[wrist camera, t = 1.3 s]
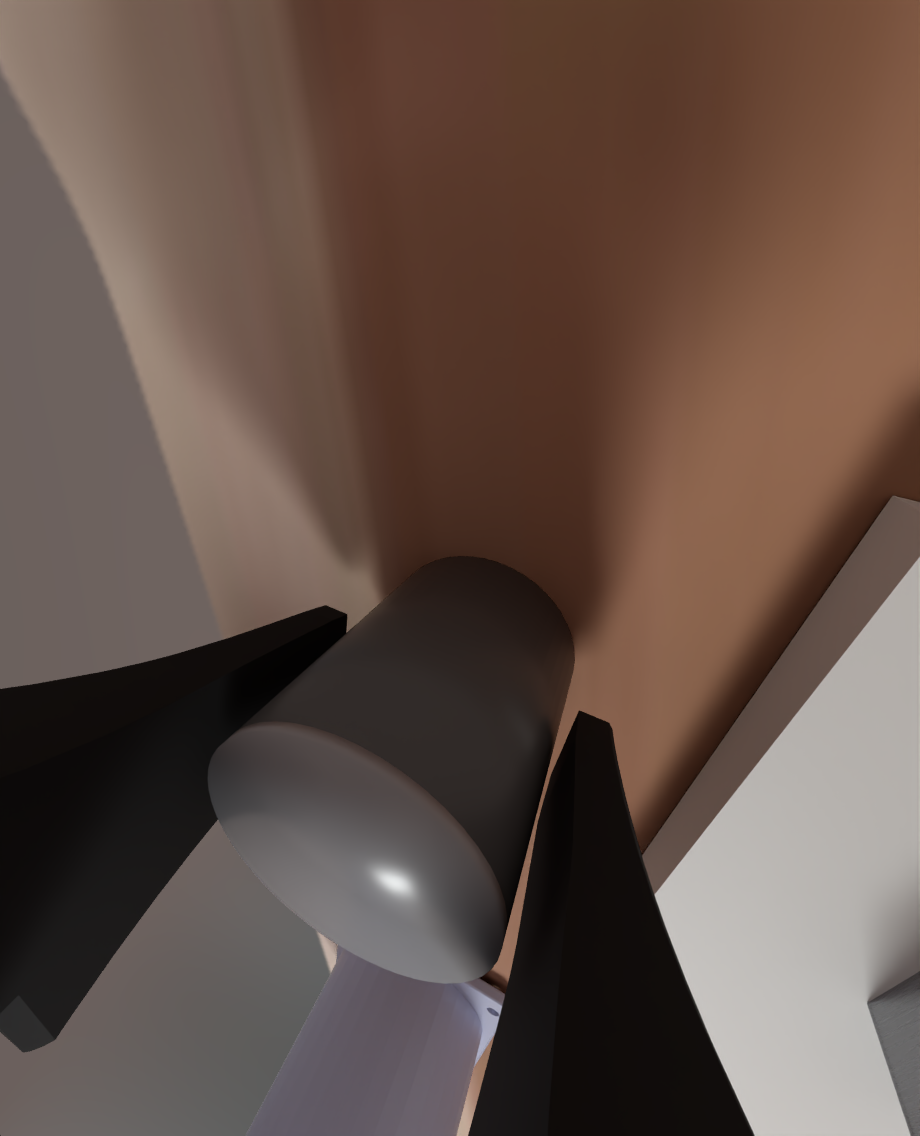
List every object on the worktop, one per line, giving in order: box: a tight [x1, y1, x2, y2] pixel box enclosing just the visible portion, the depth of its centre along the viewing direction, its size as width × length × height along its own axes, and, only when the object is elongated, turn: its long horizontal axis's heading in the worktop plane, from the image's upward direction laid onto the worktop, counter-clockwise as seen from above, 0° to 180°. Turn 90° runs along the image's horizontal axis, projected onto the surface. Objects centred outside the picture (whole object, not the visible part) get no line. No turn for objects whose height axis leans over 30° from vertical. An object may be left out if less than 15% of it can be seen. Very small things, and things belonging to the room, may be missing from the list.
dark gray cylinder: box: [208, 556, 575, 984], centre depth 9 cm, size 5×5×6 cm
